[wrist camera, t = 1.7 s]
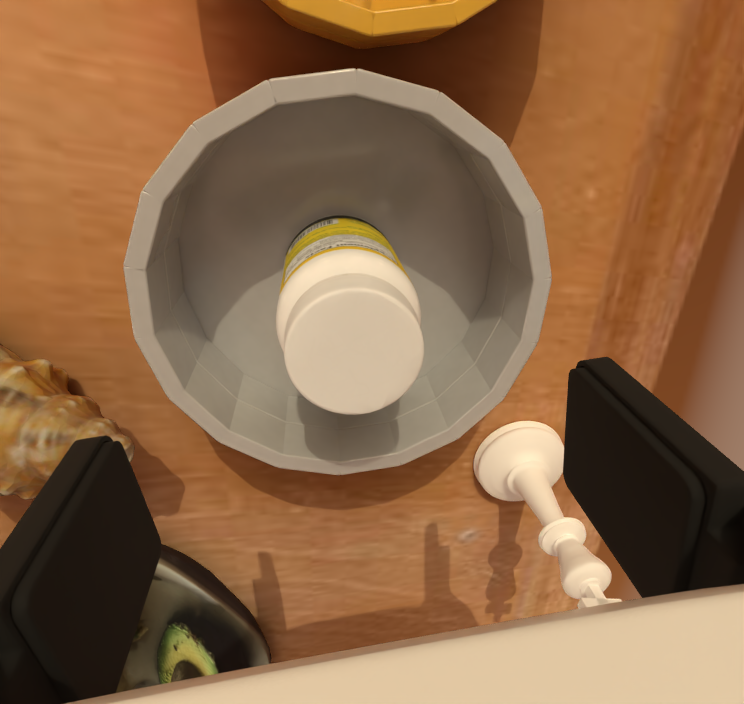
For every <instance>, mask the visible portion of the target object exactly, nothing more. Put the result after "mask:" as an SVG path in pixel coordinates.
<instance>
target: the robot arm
mask: <svg viewBox="0 0 744 704" xmlns="http://www.w3.org/2000/svg"><path fill="white" fill-rule="evenodd" d="M563 475H564V479H565V482H566V485H567V487H568V488H569V490H570V491H571V493H572V494H573V496H574V497H575V499H576V500H577V502H578V503H579V505H580V506H581V508H582V509H583V511H584V512H585V514H586V515H587V517H588V518H589V520H590V521H591V523H592V524H593V526H594V527H595V528H596V530H597V531H598V533H599V534H600V536H601V537H602V539H603V540H604V542H605V543H606V545H607V546H608V548H609V549H610V551H611V552H612V554H613V555H614V557H615V558H616V560H617V561H618V563H619V564H620V566H621V567H622V569H623V570H624V572H625V573H626V574H627V576H628V577H629V579H630V580H631V582H632V583H633V585H634V586H635V588H636V589H637V591H638V592H639V594H640V595H641V597H642V598H640V599H633V600H627V601H621V602H614V603H608V604H603V605H597V606H591V607H586V608H580V609H574V610H568V611H563V612H557V613H551V614H546V615H540V616H534V617H528V618H523V619H517V620H511V621H505V622H500V623H494V624H488V625H483V626H477V627H471V628H466V629H460V630H454V631H449V632H443V633H438V634H432V635H427V636H421V637H415V638H410V639H404V640H399V641H393V642H388V643H382V644H377V645H371V646H366V647H360V648H355V649H349V650H344V651H338V652H333V653H327V654H322V655H316V656H311V657H305V658H299V659H294V660H289V661H283V662H278V663H272V664H267V665H262V666H256V667H251V668H246V669H240V670H235V671H230V672H224V673H219V674H214V675H208V676H203V677H197V678H192V679H187V680H181V681H176V682H171V683H165V684H160V685H155V686H149V687H144V688H139V689H134V690H129V691H124V692H119V693H116V690H117V687H118V684H119V681H120V678H121V675H122V672H123V669H124V666H125V663H126V660H127V657H128V654H129V651H130V647H131V644H132V641H133V638H134V635H135V632H136V629H137V626H138V623H139V620H140V617H141V614H142V611H143V608H144V604H145V601H146V598H147V595H148V592H149V589H150V586H151V583H152V580H153V577H154V574H155V571H156V568H157V565H158V562H159V558H160V555H161V540H160V537H159V534H158V532H157V529H156V527H155V524H154V522H153V519H152V517H151V514H150V512H149V509H148V507H147V504H146V502H145V499H144V497H143V494H142V492H141V489H140V487H139V484H138V482H137V479H136V477H135V474H134V472H133V469H132V467H131V465H130V462H129V460H128V457H127V455H126V452H125V450H124V447H123V445H122V444H121V442H120V441H113V440H112V439H111V438H110V436H107V435H105V436H98V437H92V438H85V439H79V440H76V441H75V442H74V443H73V444H72V446H71V447H70V448H69V450H68V451H67V453H66V454H65V456H64V457H63V459H62V460H61V462H60V463H59V464H58V466H57V467H56V469H55V470H54V472H53V473H52V475H51V476H50V477H49V479H48V480H47V482H46V483H45V485H44V486H43V488H42V489H41V491H40V492H39V493H38V495H37V496H36V498H35V499H34V501H33V502H32V504H31V505H30V507H29V508H28V509H27V511H26V512H25V514H24V515H23V517H22V518H21V520H20V521H19V522H18V524H17V525H16V527H15V528H14V530H13V531H12V533H11V534H10V536H9V537H8V538H7V540H6V541H5V543H4V544H3V546H2V547H1V549H0V704H744V471H742V470H741V469H740V468H739V467H738V466H737V465H736V464H734V463H733V462H732V461H731V460H730V459H729V458H727V457H726V456H725V455H724V454H723V453H721V452H720V451H719V450H718V449H717V448H715V447H714V446H713V445H712V444H711V443H710V442H708V441H707V440H706V439H705V438H704V437H703V436H701V435H700V434H699V433H698V432H697V431H695V430H694V429H693V428H692V427H691V426H690V425H688V424H687V423H686V422H685V421H684V420H683V419H681V418H680V417H679V416H678V415H676V414H675V413H674V412H673V411H672V410H671V409H670V408H668V407H667V406H666V405H665V404H664V403H662V402H661V401H660V400H659V399H658V398H657V397H655V396H654V395H653V394H652V393H651V392H650V391H648V390H647V389H646V388H645V387H644V386H642V385H641V384H640V383H639V382H638V381H637V380H635V379H634V378H633V377H632V376H631V375H629V374H628V373H627V372H626V371H625V370H624V369H622V368H621V367H620V366H619V365H618V364H616V363H615V362H614V361H613V360H612V359H610V358H609V357H602V358H596V359H589V360H583V361H580V362H578V364H577V366H576V369H572V370H570V373H569V379H568V396H567V412H566V428H565V445H564V461H563Z"/></svg>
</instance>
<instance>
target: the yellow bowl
mask: <svg viewBox="0 0 744 704" xmlns="http://www.w3.org/2000/svg"><path fill="white" fill-rule="evenodd" d="M262 1H263V2H264V3H265V4H267V5H268V6H269V7H270V8H271V9H272V10H273V11H274V12H276V13H277V14H278V15H279V16H280V17H281V18H282V19H283V20H285V21H286V22H287V23H288V24H289V25H290V26H293V27H294V28H297V29H300V30H303V31H306V32H309V33H312V34H315V35H318V36H321V37H324V38H327V39H330V40H333V41H336V42H339V43H342V44H345V45H347V46H350V47H353V48H356V49H359V48H360V49H367V48H375V47H383V46H391V45H399V44H407V43H415V42H423V41H426V40H429V39H431V38H433V37H435V36H437V35H439V34H441V33H444V32H446V31H448V30H450V29H452V28H454V27H456V26H458V25H460V24H461V23H463V22H464V21H466V20H468V19H469V18H471V17H472V16H474V15H476V14H477V13H479V12H480V11H482V10H484V9H485V8H487V7H488V6H490V5H492V4H493V3H495V2H496V1H498V0H262Z"/></svg>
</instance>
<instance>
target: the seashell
mask: <svg viewBox="0 0 744 704" xmlns="http://www.w3.org/2000/svg"><path fill="white" fill-rule="evenodd" d="M68 380H69V377H68V374H67V373H66V371H65V370H64V369H59V368H53V366H52V364H51V362H50V361H48V360H46V359H36V360H31V361H25V362H24V361H23V360H22V359H21V358H20V357H18V356H17V355H16V354H14V353H13V352H11V351H10V350H8V349H7V348H5V347H4V346H2V345H1V344H0V496H3V495H18V496H20V497H21V498H22V499H32V498H35V497H36V496H37V495H38V493H39V492H40V491H41V489H42V488H43V486H44V485H45V483H46V482H47V480H48V479H49V477H50V476H51V475H52V473H53V472H54V470H55V469H56V467H57V466H58V464H59V463H60V462H61V460H62V459H63V457H64V456H65V454H66V453H67V451H68V450H69V448H70V447H71V446H72V444H73V443H74V442H75V441H76V440H79V439H85V438H92V437H98V436H105V435H107V436H110V438H111V439H112V440H113V441H120V442H121V444H122V445H123V447H124V450H125V452H126V455H127V457H128V460H129V462H131V460H132V459H133V454H134V448H135V447H134V445H133V442H132V441H131V439H130V438H129V437H128V436H124V435H122V433H121V431H120V429H119V427H118V426H117V424H116V422H115V421H114V420H109V419H105V418H104V417H103V416H102V415H101V412H100V408H99V406H98V405H97V404H96V403H95V402H94V401H93V399H91V398H90V397H86V396H76V395H71V394H70V393H69V392H68V389H67V385H68Z"/></svg>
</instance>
